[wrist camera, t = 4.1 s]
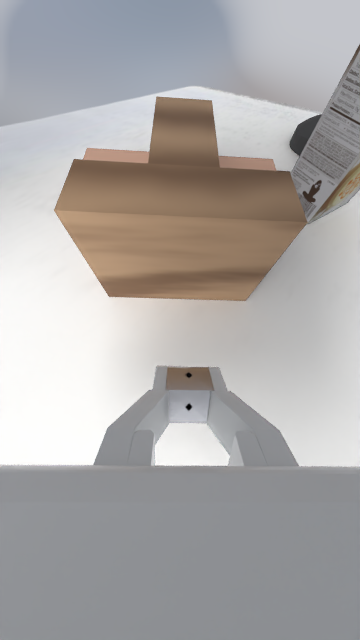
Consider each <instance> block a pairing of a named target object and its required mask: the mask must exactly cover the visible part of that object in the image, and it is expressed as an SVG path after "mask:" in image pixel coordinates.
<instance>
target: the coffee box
mask: <svg viewBox="0 0 360 640" xmlns="http://www.w3.org/2000/svg"><path fill="white" fill-rule="evenodd" d="M291 177H292V180H293V183H294V185H295V188H296V191H297V194H298V197H299V199H300V202H301V205H302V208H303V211H304V214H305V216H306V219H307V224H309V223H311V222H313V221H315V220H317V219H319V218H321V217H322V216H324V215H326V214H328V213H330V212H332V211H333V210H335V209H337V208H339V207H341V206H342V205H344V204H346V203H348V202H349V201H350V199H351V198H352V197H353V196H354V195H355V194H356V193H357V192H358V191H359V189H360V45H359V47H358V48H357V50H356V52H355V54H354V56H353V58H352V60H351V61H350V63H349V65H348V67H347V69H346V71H345V73H344V74H343V76H342V78H341V80H340V82H339V84H338V86H337V88H336V89H335V91H334V93H333V95H332V97H331V99H330V101H329V103H328V105H327V106H326V108H325V110H324V112H323V114H322V116H321V118H320V119H319V121H318V123H317V125H316V127H315V129H314V131H313V132H312V134H311V136H310V138H309V140H308V142H307V144H306V146H305V147H304V149H303V151H302V153H301V155H300V157H299V159H298V161H297V163H296V164H295V166H294V168H293V170H292V172H291Z"/></svg>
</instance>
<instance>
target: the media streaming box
mask: <svg viewBox="0 0 360 640" xmlns="http://www.w3.org/2000/svg"><path fill="white" fill-rule="evenodd" d="M321 116H322V114H321V115H317V116H314V117H312V118H310V119H308V120H306V121H304V122H302V123H300V124H299V125H298V126H297V128H296V130H295V132H294V134H293V136H292V139H291V141H290V147H291V149H292V150H293V151H294V152H296V153H297V154H298V155H301V153H302V151H303V149H304V147H305V146H306V144H307V142H308V140H309V138H310V136H311V134H312V132H313V131H314V129H315V127H316V125H317V123H318V121H319V119H320V118H321Z"/></svg>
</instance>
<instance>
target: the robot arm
mask: <svg viewBox="0 0 360 640" xmlns="http://www.w3.org/2000/svg"><path fill="white" fill-rule="evenodd" d="M185 422H189V423H207V425H208V426H209V428H210V429H211V430H212V432H213V433H214V435H215V436H216V437H217V439H218V440H219V441H220V443H221V444H222V446H223V447H224V448H225V450H226V451H227V452H228V454H229V455H230V459H229V463H228V466H155V444H156V443H157V441H158V440H159V438H160V437H161V435H162V434H163V432H164V430H165V429H166V427H167V426H168V424H169V423H185ZM0 640H360V467H336V466H299V465H298V463H297V462H296V460H295V458H294V456H293V454H292V452H291V451H290V449H289V447H288V445H287V443H286V442H285V440H284V438H283V436H282V434H281V432H280V431H279V430H278V429H277V428H276V427H275V426H273V425H272V424H271V423H270V422H268V421H267V420H266V419H265V418H263V417H262V416H261V415H260V414H258V413H257V412H256V411H255V410H253V409H252V408H251V407H250V406H248V405H247V404H246V403H245V402H243V401H242V400H241V399H240V398H238V397H237V396H236V395H235V394H233V393H232V392H231V391H227V388H226V385H225V382H224V380H223V377H222V374H221V371H220V368H219V367H181V366H168V367H167V366H157V367H156V372H155V378H154V384H153V389H152V390H149V391H148V392H146V393H145V394H144V395H143V396H142V397H141V398H140V399H139V400H138V401H137V402H136V403H134V404H133V405H132V406H131V407H130V408H129V409H128V410H127V411H126V412H125V413H124V414H122V415H121V416H120V417H119V418H118V419H117V420H116V421H115V422H114V423H113V424H111V425H110V426H109V427H108V428H107V431H106V433H105V436H104V439H103V441H102V444H101V446H100V449H99V452H98V454H97V457H96V459H95V462H94V465H0Z"/></svg>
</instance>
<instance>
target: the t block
mask: <svg viewBox="0 0 360 640" xmlns="http://www.w3.org/2000/svg"><path fill="white" fill-rule="evenodd" d="M54 211H55V213H56V214H57V216H58V218H59V219H60V221H61V222H62V224H63V225H64V227H65V229H66V230H67V232H68V233H69V235H70V236H71V238H72V239H73V241H74V243H75V244H76V246H77V247H78V249H79V250H80V252H81V254H82V255H83V257H84V258H85V260H86V261H87V263H88V264H89V266H90V268H91V269H92V271H93V272H94V274H95V275H96V277H97V279H98V280H99V282H100V283H101V285H102V286H103V288H104V290H105V291H106V293H107V294H108V296H109V297H136V298H169V299H202V300H235V301H246V299H247V298H248V297H249V296H250V294H251V293H252V292H253V291H254V289H255V288H256V287H257V286H258V284H259V283H260V282H261V281H262V279H263V278H264V277H265V275H266V274H267V273H268V272H269V270H270V269H271V268H272V267H273V265H274V264H275V263H276V262H277V260H278V259H279V258H280V257H281V255H282V254H283V253H284V251H285V250H286V249H287V248H288V246H289V245H290V244H291V243H292V241H293V240H294V239H295V238H296V236H297V235H298V234H299V233H300V231H301V230H302V229H303V228H304V226H305V225H306V224H307V219H306V216H305V214H304V211H303V208H302V205H301V202H300V199H299V197H298V194H297V191H296V188H295V185H294V183H293V180H292V177H291V174H290V171H272V170H255V169H237V168H220V165H219V157H218V148H217V140H216V131H215V123H214V115H213V106H212V101H211V100H197V99H183V98H169V97H156V105H155V113H154V120H153V128H152V136H151V144H150V152H149V159H148V163H132V162H115V161H98V160H80V159H74V160H73V163H72V166H71V168H70V171H69V173H68V176H67V178H66V181H65V183H64V186H63V189H62V191H61V194H60V196H59V199H58V201H57V204H56V207H55V209H54Z"/></svg>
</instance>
